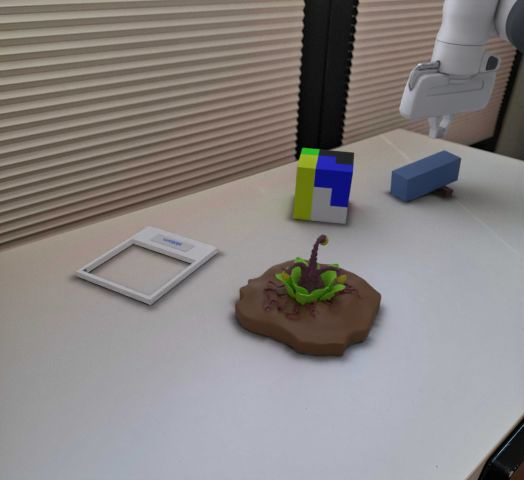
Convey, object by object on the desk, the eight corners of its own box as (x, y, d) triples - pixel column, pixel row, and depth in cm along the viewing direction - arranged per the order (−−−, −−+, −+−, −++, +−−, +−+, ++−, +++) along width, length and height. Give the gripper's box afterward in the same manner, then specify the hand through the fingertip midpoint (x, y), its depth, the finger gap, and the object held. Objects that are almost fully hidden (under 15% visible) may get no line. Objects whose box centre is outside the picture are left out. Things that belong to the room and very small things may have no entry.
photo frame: (217, 246, 86) (149, 298, 74) (217, 252, 87) (150, 305, 75) (149, 224, 91) (75, 270, 79) (149, 230, 92) (76, 276, 80)
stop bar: (422, 180, 113) (424, 174, 112) (452, 196, 107) (454, 189, 106) (416, 182, 113) (417, 175, 112) (445, 198, 107) (447, 191, 106)
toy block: (444, 149, 108) (391, 170, 104) (461, 157, 105) (407, 179, 101) (441, 172, 112) (390, 193, 108) (457, 180, 108) (405, 202, 105)
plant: (398, 301, 77) (415, 235, 70) (338, 372, 65) (351, 301, 58) (287, 260, 86) (292, 196, 78) (215, 316, 73) (213, 247, 66)
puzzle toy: (345, 223, 96) (353, 172, 90) (293, 218, 97) (297, 167, 91) (346, 201, 104) (354, 152, 97) (298, 196, 105) (302, 147, 98)
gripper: (425, 67, 87) (407, 149, 96) (508, 59, 94) (484, 135, 103) (401, 59, 91) (386, 139, 100) (482, 52, 98) (461, 126, 107)
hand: (436, 137), depth 102 cm, fingers closed
